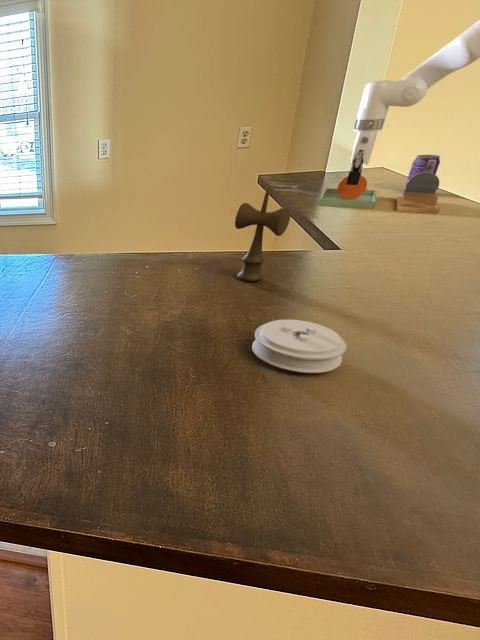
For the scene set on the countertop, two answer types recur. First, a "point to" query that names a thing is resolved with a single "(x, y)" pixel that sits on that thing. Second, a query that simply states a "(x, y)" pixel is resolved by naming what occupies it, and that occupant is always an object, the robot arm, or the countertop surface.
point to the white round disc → (299, 346)
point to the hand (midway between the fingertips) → (352, 181)
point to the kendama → (259, 234)
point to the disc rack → (417, 202)
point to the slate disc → (423, 183)
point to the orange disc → (352, 188)
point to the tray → (334, 199)
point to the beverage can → (423, 165)
